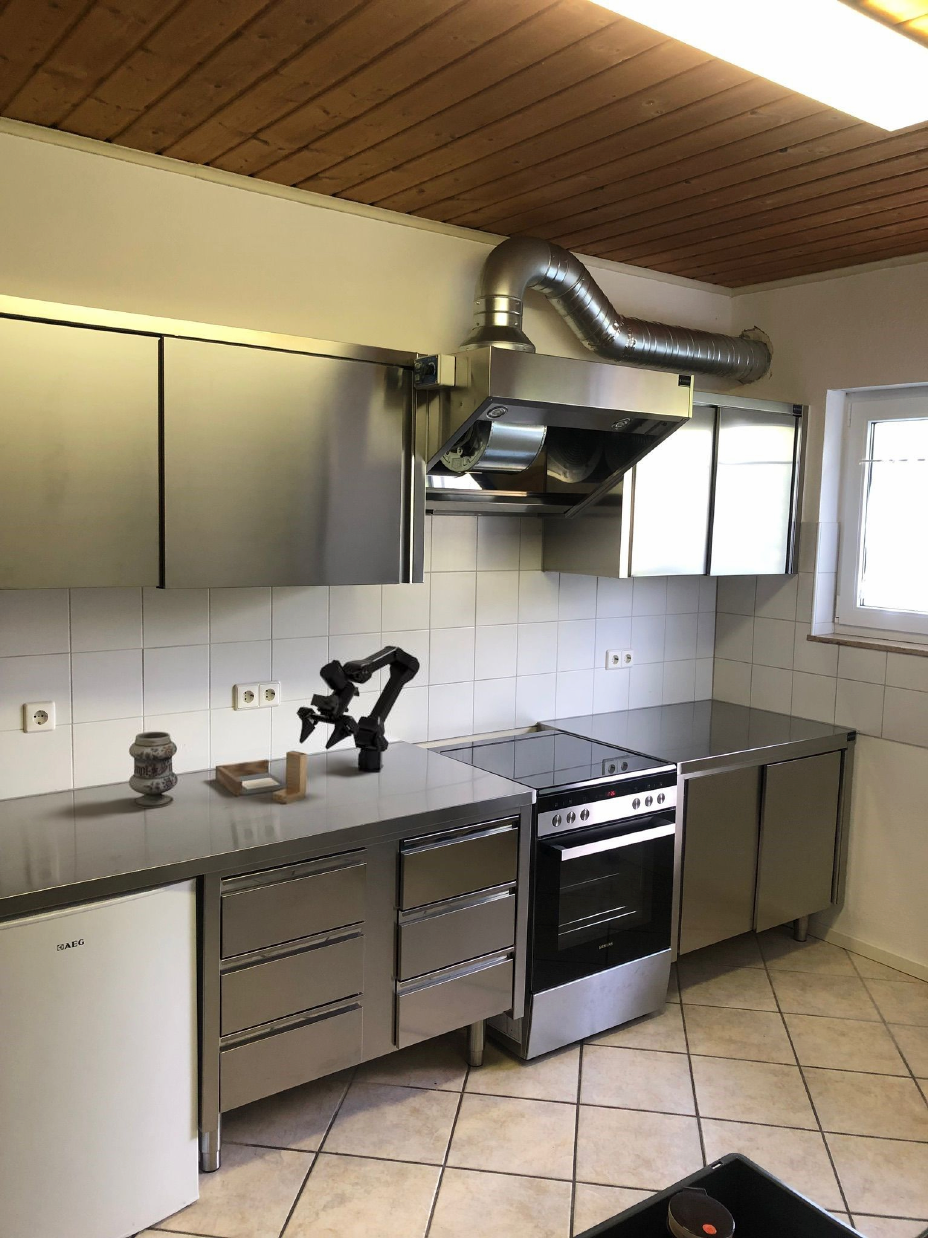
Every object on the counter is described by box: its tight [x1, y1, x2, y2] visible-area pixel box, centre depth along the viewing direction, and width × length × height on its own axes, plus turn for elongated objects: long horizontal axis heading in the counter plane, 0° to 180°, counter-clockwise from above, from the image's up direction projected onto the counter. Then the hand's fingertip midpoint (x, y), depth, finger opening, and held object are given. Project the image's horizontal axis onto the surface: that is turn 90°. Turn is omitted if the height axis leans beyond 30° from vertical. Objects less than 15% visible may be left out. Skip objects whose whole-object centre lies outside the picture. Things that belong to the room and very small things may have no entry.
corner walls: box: [215, 759, 270, 797], centre depth 268 cm, size 15×17×4 cm
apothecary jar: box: [128, 731, 178, 809], centre depth 249 cm, size 12×12×18 cm
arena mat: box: [237, 772, 286, 797], centre depth 268 cm, size 14×16×1 cm
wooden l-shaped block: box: [272, 750, 308, 805], centre depth 257 cm, size 8×5×12 cm, turn 148°
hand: (313, 745), depth 264 cm, fingers open, 9 cm apart
